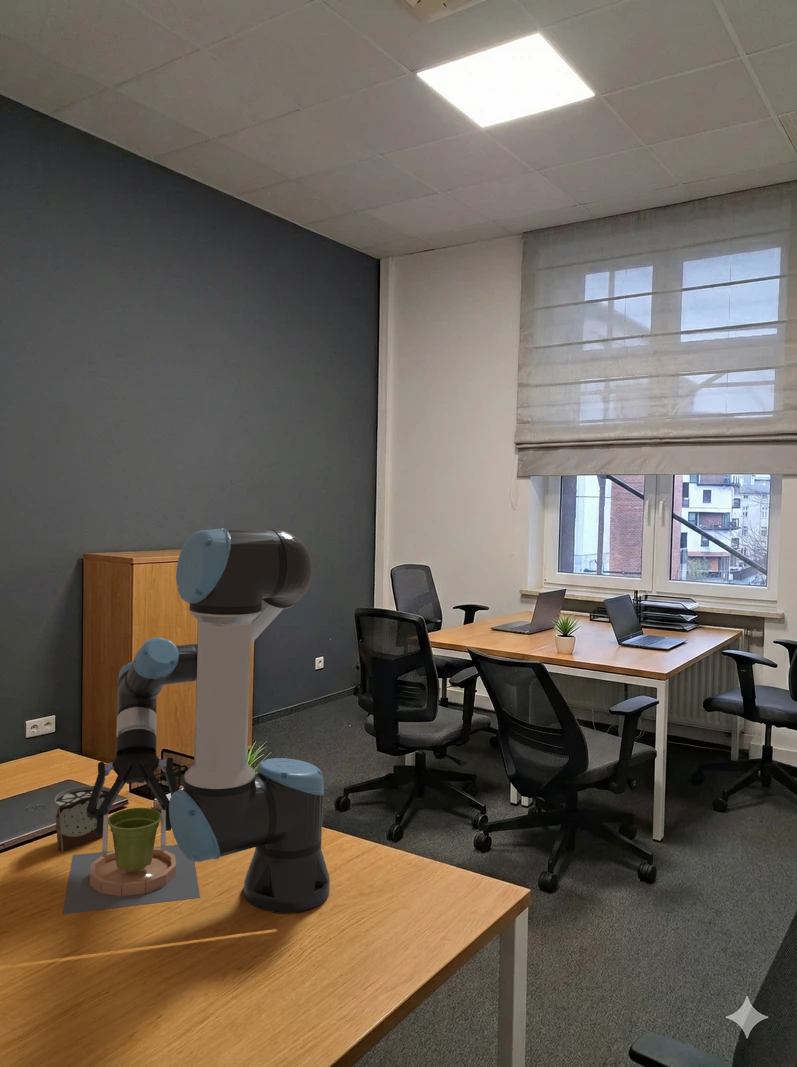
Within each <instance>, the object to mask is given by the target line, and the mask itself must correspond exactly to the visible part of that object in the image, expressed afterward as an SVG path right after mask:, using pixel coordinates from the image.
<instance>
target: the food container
mask: <svg viewBox="0 0 797 1067" xmlns="http://www.w3.org/2000/svg"><path fill="white" fill-rule="evenodd" d="M93 788H94V785H86V786H78V787H72V788H69V789H66V790H64V791H61V792H59V793H58V794H57V795H56V796H55V797H54V800H53V801H52V805H51V813H52V814H53V815H54V816H55V825H56V826H55V829H56V838H57V839H56V840H57V849H58V850H59V852H61V853H64V852H66V851H68V850H71V849H74V848H77V847H79V846H82V845H85V844H88V843H90V842H93V841H96V840H99V839H103V837H97V835H96V825H97V820H96V819H95V818H88V817H87V807H88V804H89V801H90V797H91V794H92V791H93ZM111 788H112V787H107V786H103V788H102V791H101V795H100V798H99V801H98V804H97V807H96V809H99V808H100V806H101V804H102V803H103V801H104V799H105V798H106V796H107V794H108V793H109V791H110V789H111ZM109 812H110V811H108V813H107V814H106V815H108V816H109Z"/></svg>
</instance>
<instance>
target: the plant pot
mask: <svg viewBox="0 0 797 1067" xmlns="http://www.w3.org/2000/svg"><path fill="white" fill-rule="evenodd" d="M161 819H162V816H161V811H159V810H158V809H154V808H149V807H132V808H127V809H123V810H119V811H117V812H114V813H113V814H111V815H110V816H108V827H109V829H110V832H111V834H112V840H113V841H112V842H113V847H114V848H113V849H114V851H115V857H116V865H117V868H119V869H124V870H125V871H137V870H141V869H144V868H145V867H146V866H147V865H150V864H151V862H152V856H153V850H154V847H155V842H156V837H157V831H158V828H159V825H160V824H159V823H161Z"/></svg>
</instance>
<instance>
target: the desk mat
mask: <svg viewBox="0 0 797 1067" xmlns="http://www.w3.org/2000/svg"><path fill="white" fill-rule="evenodd" d="M155 847H156V848H161V845H160V846H155ZM165 850H167V851H168V852H170V853H172V854H174V855H175V859H176V876H175V877H174V878H173V879H172V880H171V881H170V882H169V883H168V884H167V885H166V886H164V887H161V888H158V889H156V890H153V891H151V892H148V893H145V894H137V895H128V896H116V895H109V894H103V893H100V892H98V891H97V890H96V889H94V888H93V887H91V886H90V869H91V864H92V863H93V862H94V861H96V860H97V859H98V858H100V857H101V856H102V851H101V852H89V853H79V854H73V855H72V858H71V863H70V869H69V876H68V881H67V887H66V888H67V889H66V892H65V893H66V894H65V899H64V904H63V905H64V906H63V911H62V915H68V914H77V913H83V912H84V913H85V912H93V911H100V910H107V909H108V910H110V909H119V908H126V907H133V906H135V907H137V906H141V905H152V904H159V903H161V904H162V903H167V902H169V903H170V902H177V901H184V900H185V901H186V900H193V899H200V898H201V893H200V888H199V881H198V876H197V869H196V862H195V861H192V860H190V859H188V858H187V857H186V856H185V855H184V854H183V853H182V851H181V850H180V848H179V846H178V844H172V845H166V849H165ZM113 851H114V850H110V851H108V850H107V853H110V852H113Z"/></svg>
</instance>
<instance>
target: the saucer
mask: <svg viewBox="0 0 797 1067" xmlns="http://www.w3.org/2000/svg"><path fill="white" fill-rule="evenodd" d="M156 847H157V846H154V850H153V856H152V862H151V864H150V865H147V866H146V867H145V868H144V869H141V870H137V871H125V870H124V869H119V868H117V865H116V857H115V850H112V851H113V852H110V853H107V857H102V856H101V857H100V858H98V859H97V860H96V861H94V862H93V863H92V864H91V869H90V886H91V887H93V888H94V889H96V890H97V891H98V892H100V893H103V894H109V895H116V896H128V895H137V894H145V893H148V892H151V891H153V890H156V889H158V888H161V887H164V886H166V885H167V884H168V883H169V882H170V881H171V880H172V879H173V878H174V877H175V876H176V859H175V855H174V854H172V853H170V852H168V851H167V850H165V851H161V848H156Z"/></svg>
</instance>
